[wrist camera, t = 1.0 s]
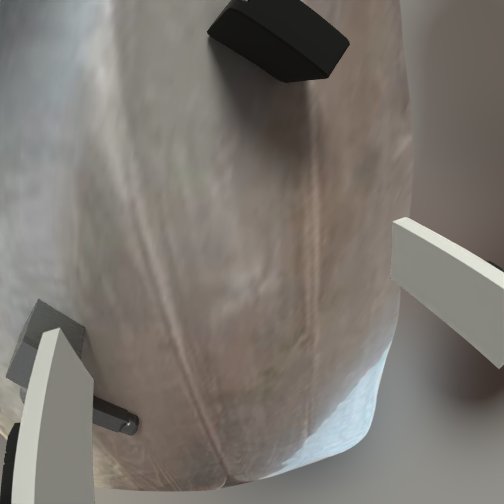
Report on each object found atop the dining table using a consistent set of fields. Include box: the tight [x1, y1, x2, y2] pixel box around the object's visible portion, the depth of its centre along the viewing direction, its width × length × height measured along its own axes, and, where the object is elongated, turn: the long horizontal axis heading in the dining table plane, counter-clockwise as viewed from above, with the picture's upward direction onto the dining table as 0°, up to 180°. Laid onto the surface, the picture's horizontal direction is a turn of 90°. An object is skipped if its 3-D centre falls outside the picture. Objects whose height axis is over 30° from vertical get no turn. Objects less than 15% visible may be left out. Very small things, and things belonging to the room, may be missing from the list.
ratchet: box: [20, 386, 139, 435], centre depth 36 cm, size 19×9×10 cm, turn 47°
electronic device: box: [207, 0, 350, 83], centre depth 24 cm, size 4×10×10 cm, turn 59°
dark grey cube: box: [6, 299, 85, 389], centre depth 31 cm, size 7×7×8 cm
